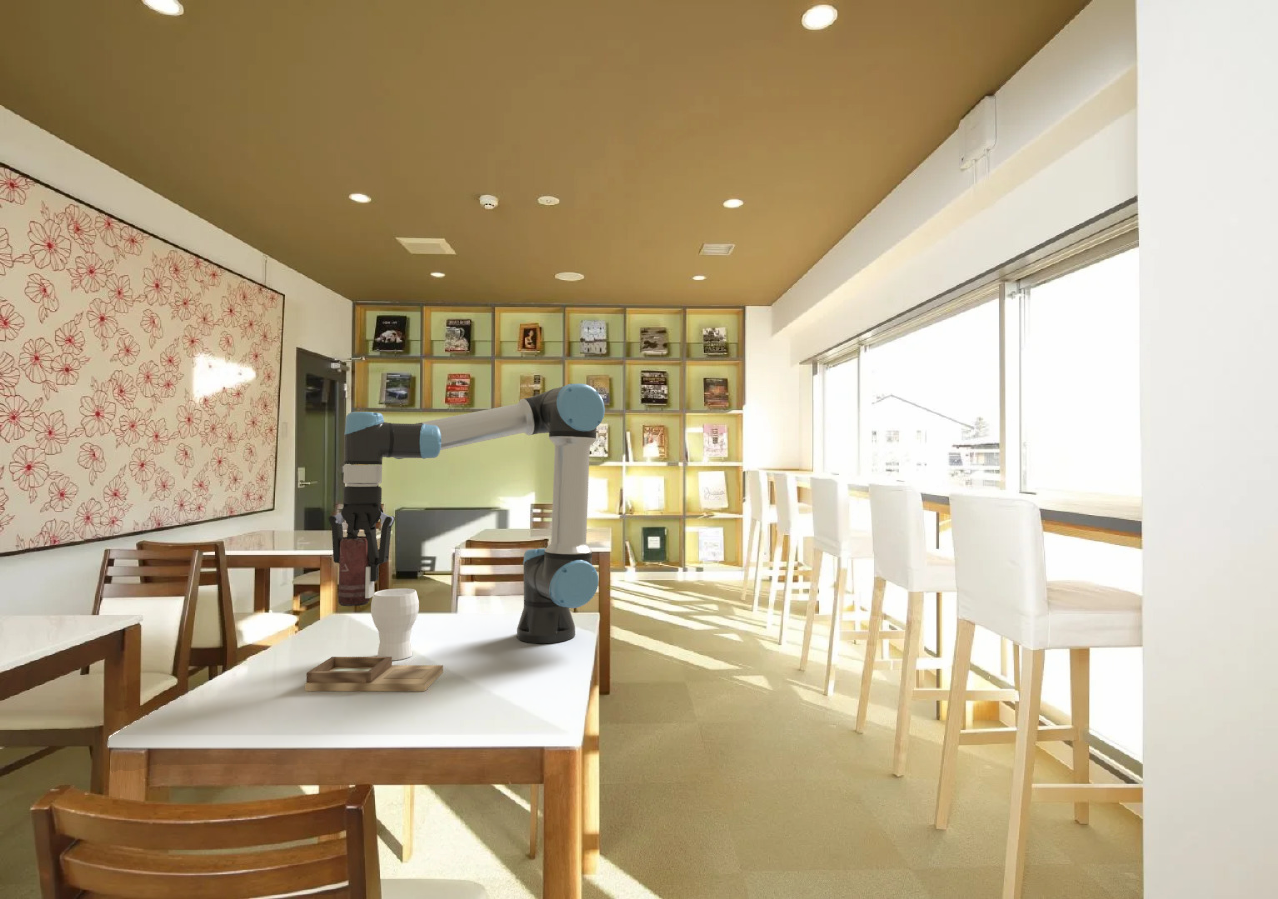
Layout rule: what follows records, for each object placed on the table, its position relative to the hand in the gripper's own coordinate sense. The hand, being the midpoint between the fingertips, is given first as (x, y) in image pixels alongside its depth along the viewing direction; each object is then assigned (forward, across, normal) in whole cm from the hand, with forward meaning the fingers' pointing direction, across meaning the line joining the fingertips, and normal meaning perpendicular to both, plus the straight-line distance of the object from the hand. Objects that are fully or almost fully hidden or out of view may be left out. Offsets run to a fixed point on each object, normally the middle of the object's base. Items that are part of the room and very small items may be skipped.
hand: (360, 596), depth 141 cm
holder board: (+17, -4, +1) cm, 18 cm away
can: (+2, +1, 0) cm, 2 cm away
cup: (+17, -1, -17) cm, 25 cm away
